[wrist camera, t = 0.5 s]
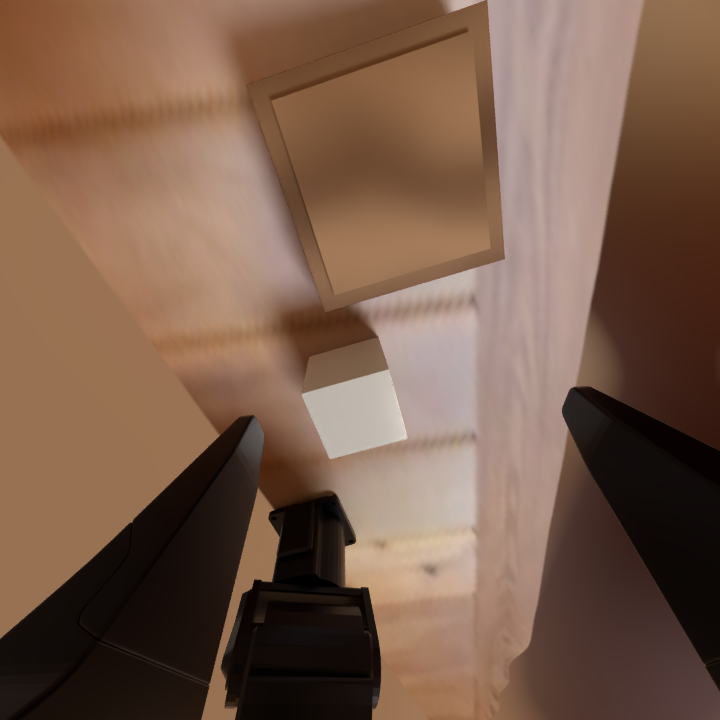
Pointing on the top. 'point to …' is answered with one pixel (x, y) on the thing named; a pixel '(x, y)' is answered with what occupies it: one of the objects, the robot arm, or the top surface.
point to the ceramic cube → (352, 399)
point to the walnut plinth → (390, 157)
